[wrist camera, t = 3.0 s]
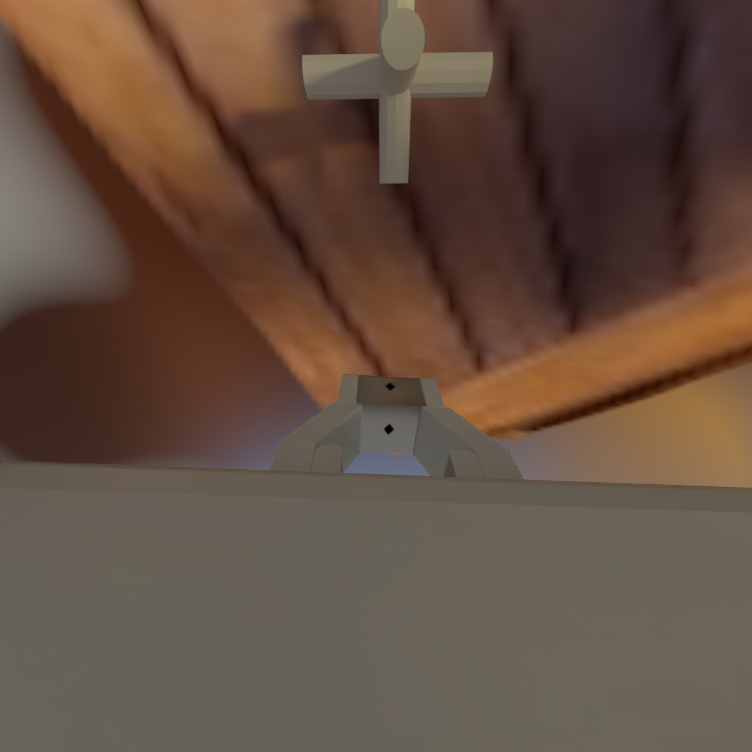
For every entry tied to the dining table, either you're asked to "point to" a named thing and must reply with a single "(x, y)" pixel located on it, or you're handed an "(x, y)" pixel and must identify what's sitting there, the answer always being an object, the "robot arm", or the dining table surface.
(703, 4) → the dining table surface
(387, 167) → the pipe connector
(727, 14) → the dining table surface
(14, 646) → the robot arm
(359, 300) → the dining table surface
